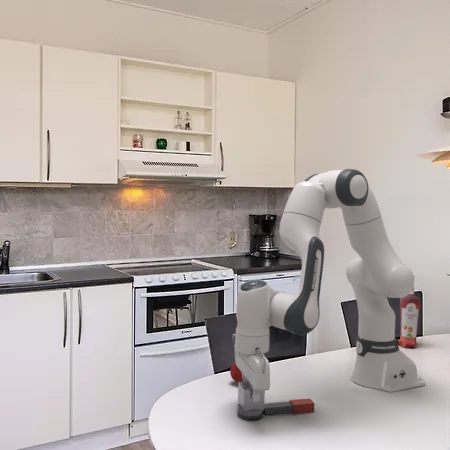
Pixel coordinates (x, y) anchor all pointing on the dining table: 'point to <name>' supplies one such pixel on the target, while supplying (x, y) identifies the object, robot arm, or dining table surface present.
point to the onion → (236, 373)
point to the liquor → (409, 319)
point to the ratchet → (278, 409)
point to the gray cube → (249, 397)
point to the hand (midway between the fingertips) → (251, 394)
